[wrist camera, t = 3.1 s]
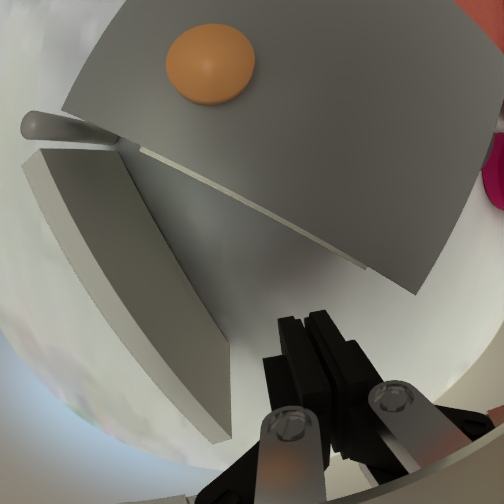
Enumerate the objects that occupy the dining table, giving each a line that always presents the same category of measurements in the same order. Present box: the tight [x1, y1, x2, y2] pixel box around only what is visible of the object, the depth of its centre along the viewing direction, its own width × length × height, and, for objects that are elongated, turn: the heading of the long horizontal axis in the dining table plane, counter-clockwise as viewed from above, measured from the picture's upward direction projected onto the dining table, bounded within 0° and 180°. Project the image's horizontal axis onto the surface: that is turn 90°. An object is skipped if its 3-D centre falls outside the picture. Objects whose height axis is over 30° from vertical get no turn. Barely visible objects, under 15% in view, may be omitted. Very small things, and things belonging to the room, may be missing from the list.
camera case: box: [61, 0, 504, 295], centre depth 11 cm, size 12×15×9 cm
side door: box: [21, 111, 232, 444], centre depth 13 cm, size 2×15×8 cm, turn 26°
